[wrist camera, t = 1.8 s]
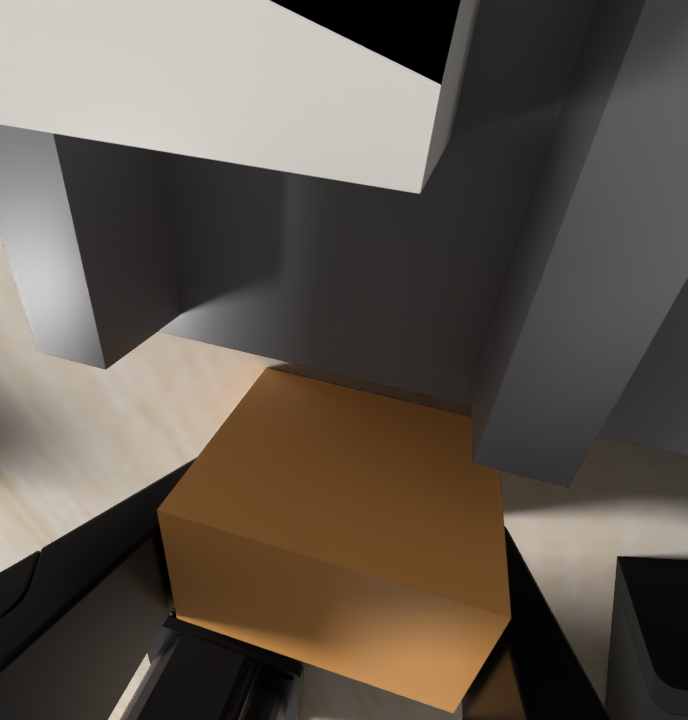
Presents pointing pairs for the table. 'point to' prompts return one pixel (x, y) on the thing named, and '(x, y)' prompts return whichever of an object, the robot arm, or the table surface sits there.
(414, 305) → the grey ridged tray
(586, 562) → the table surface
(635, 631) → the external hard drive
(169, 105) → the white block
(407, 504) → the orange block
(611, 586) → the table surface
